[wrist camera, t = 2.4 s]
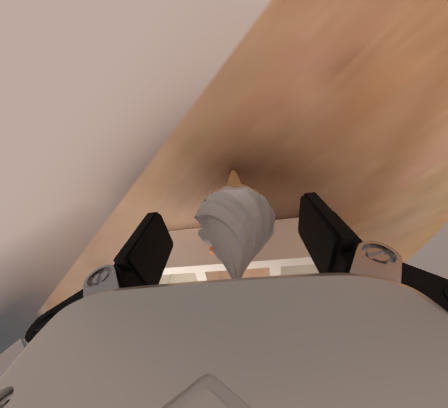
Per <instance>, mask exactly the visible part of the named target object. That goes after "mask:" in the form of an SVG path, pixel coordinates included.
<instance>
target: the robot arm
mask: <svg viewBox="0 0 448 408" xmlns="http://www.w3.org/2000/svg"><path fill="white" fill-rule="evenodd" d="M298 233H299V235H300V237H301V239H302V241H303V243H304V245H305V247H306V249H307V251H308V253H309V254H310V256H311V258H312V260H313V262H314V264H315V266H316V268H317V270H318V272H319V273H311V274H292V275H278V276H263V277H248V278H235V279H221V280H207V281H194V282H181V283H169V284H159V282H160V279H161V277H162V274H163V271H164V269H165V266H166V264H167V261H168V259H169V256H170V253H171V251H172V248H173V241H172V239H171V236H170V234H169V232H168V230H167V227H166V225H165V223H164V221H163V218H162V216H161V215H160V214H158V213H157V212H153V213H148V214H147V215H146V216H145V218H144V219H143V220H142V222H141V223H140V224H139V226H138V227H137V229H136V230H135V231H134V233H133V234H132V235H131V237H130V238H129V239H128V241H127V242H126V244H125V245H124V246H123V248H122V249H121V250H120V252H119V253H118V254H117V256H116V257H115V259H114V260H113V261H114V262H115V264H114V265H104V266H102V267H99V268H98V269H96V270H94V271H93V272H92V273H91V274H90V275H89V276H88V277H87V278H86V280H85V281H84V285H83V289H82V290H81V291H79V292H77V293H76V294H74V295H73V296H71V297H69V298H68V299H66V300H65V301H63V302H61V303H60V304H58V305H57V306H55V307H54V308H52V309H50V310H49V311H47V312H46V313H44V314H43V315H41V316H40V317H39V318H37V320H35V322H34V323H33V324H32V325H31V327H30V328H29V329H28V331H27V332H26V335H25V339H24V340H22V339H19V340H18V341H16V342H15V343H14V344H13V345H11V346H10V347H9V348H8V349H7V350H5V351H4V352H3V353H2V354H0V408H448V279H445V278H442V277H440V276H437V275H434V274H432V273H429V272H426V271H424V270H421V269H418V268H416V267H413V266H410V265H408V264H405V263H402V258H401V256H400V255H399V253H398V252H397V251H396V250H394V249H393V248H391V247H389V246H388V245H385V244H383V243H380V242H375V241H364V242H363V241H362V240H361V239H360V238H359V237H358V236H357V235H356V234H355V233H354V232H353V231H352V230H351V229H350V228H349V227H348V226H347V224H346V223H345V222H344V221H343V220H342V219H341V218H340V217H339V216H338V215H337V214H336V213H335V212H333V211H332V210H331V209H330V208H329V207H328V206H327V205H326V203H325V202H324V201H323V200H322V199H321V198H320V197H319V196H318V195H317V194H316V193H315V192H312V193H305V194H304V196H301V200H300V211H299V222H298Z"/></svg>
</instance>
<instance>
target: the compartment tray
mask: <svg viewBox="0 0 448 408" xmlns="http://www.w3.org/2000/svg"><path fill="white" fill-rule="evenodd" d="M298 222H299V217H298V218H289V219H279V220H275V223H274V234H273V235H272V237H271V238H270V239H269V241H268V242H267V243H266V244H265V245H264V247H263V248H262V249H261V251H260V252H259V253H258V254H257V255H256V256H255V258H254V259H253V260H252V261H251V263H250V264H249V266H248V267H247V269H246V270H245V272H244V274H243V276H242V278H248V277H263V276H278V275H292V274H311V273H319V272H318V270H317V268H316V266H315V264H314V262H313V260H312V258H311V256H310V254H309V253H308V251H307V249H306V247H305V245H304V243H303V241H302V239H301V237H300V235H299V233H298ZM200 229H203V228H192V229H183V230H173V231H168V232H169V234H170V236H171V239H172V241H173V248H172V251H171V253H170V256H169V259H168V261H167V264H166V266H165V269H164V271H163V274H162V277H161V279H160V282H159V284H169V283H181V282H194V281H207V280H221V279H231V277H230V275H229V274H228V272H227V270H226V268H225V266H224V265H223V263H222V262H221V261H220V260H219V259H218V258H217V257H216V256H215V254H214V253H213V252H212V251H211V250H214V247H213V246H208V245H206V244H205V243H204V242H203V240H202V239H201V238H200V237H199V235H198V231H199V230H200Z"/></svg>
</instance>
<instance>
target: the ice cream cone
mask: <svg viewBox="0 0 448 408" xmlns="http://www.w3.org/2000/svg"><path fill="white" fill-rule="evenodd" d="M275 218H276V214H275V212H274V210H273V209H272V207H271V205H270V204H269V202H268V201H267V199H266V198H265V197H264V196H262V195H261V194H260V193H259V192H258V191H256V190H254V189H252V188H251V187H249V186H247V185H244V184H241V182H240V180H239V177H238V175H237V172H236V171H235V170H232V171H231V172H230V176H229V179H228V182H227V184H226V185H224V186H222V187H220V188H218V189H217V190H215V191H213V192H212V193H211V194H209V195H208V196H207V198H206V199H205V200H204V202H202V203H201V205H200V207H199V209H198V211H197V213H196V215H195V219H196V220H197V221H198V222H199V223H200V225H201V226H202V228H203V229H200V230H199V231H198V235H199V237H200V238H201V239H202V240H203V242H204V243H205V244H206V245H208V246H213V247H214V250H211V251H212V252H213V253H214V254H215V256H216V257H217V258H218V259H219V260H220V261H221V262H222V263H223V265H224V266H225V268H226V270H227V272H228V274H229V275H230V277H231V279H235V278H242V276H243V274H244V272H245V270H246V269H247V267H248V266H249V264H250V263H251V261H252V260H253V259H254V258H255V256H256V255H257V254H258V253H259V252H260V251H261V249H262V248H263V247H264V245H265V244H266V243H267V242H268V241H269V239H270V238H271V237H272V235H273V234H274V223H275Z"/></svg>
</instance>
